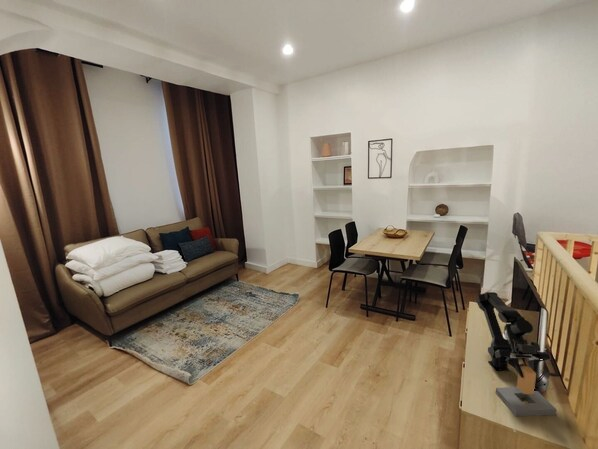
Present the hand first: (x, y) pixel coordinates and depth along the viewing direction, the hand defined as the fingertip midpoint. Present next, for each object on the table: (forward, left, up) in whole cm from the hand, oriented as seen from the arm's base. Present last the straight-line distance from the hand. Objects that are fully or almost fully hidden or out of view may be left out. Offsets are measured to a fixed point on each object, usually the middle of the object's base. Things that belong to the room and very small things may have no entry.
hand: (528, 378), depth 114 cm
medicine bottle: (-35, +18, -14) cm, 42 cm away
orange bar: (-1, 0, -7) cm, 7 cm away
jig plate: (-1, 0, -13) cm, 14 cm away
